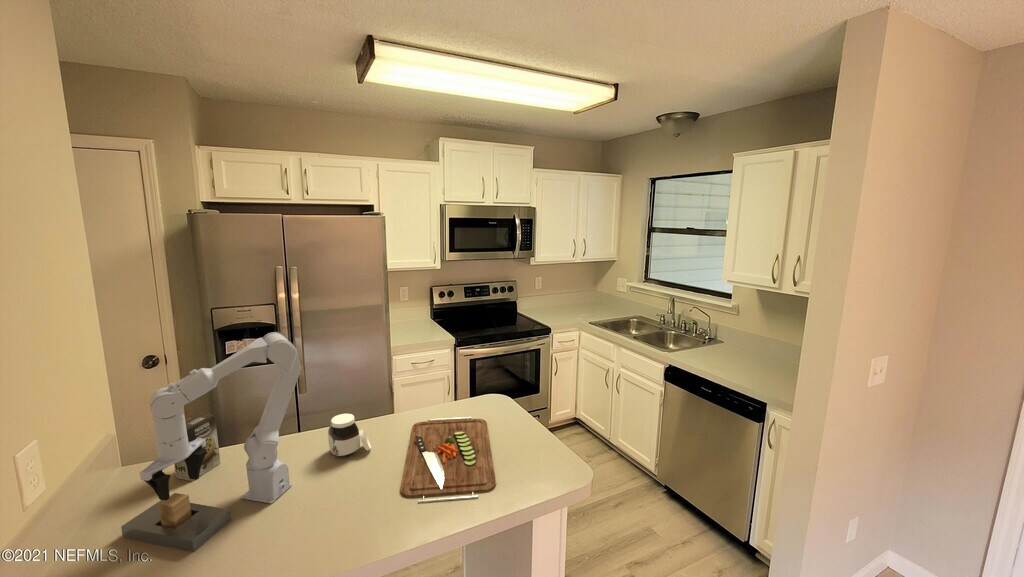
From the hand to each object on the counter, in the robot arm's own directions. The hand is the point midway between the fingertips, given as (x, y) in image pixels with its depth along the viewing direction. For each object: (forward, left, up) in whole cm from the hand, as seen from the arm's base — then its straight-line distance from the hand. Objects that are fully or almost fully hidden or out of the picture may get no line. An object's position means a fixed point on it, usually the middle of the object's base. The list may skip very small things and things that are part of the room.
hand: (179, 488), depth 101 cm
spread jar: (-23, -37, -10) cm, 44 cm away
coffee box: (+15, -18, -10) cm, 25 cm away
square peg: (0, +2, -9) cm, 10 cm away
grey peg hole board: (-1, +2, -9) cm, 10 cm away
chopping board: (-54, -42, -10) cm, 69 cm away
